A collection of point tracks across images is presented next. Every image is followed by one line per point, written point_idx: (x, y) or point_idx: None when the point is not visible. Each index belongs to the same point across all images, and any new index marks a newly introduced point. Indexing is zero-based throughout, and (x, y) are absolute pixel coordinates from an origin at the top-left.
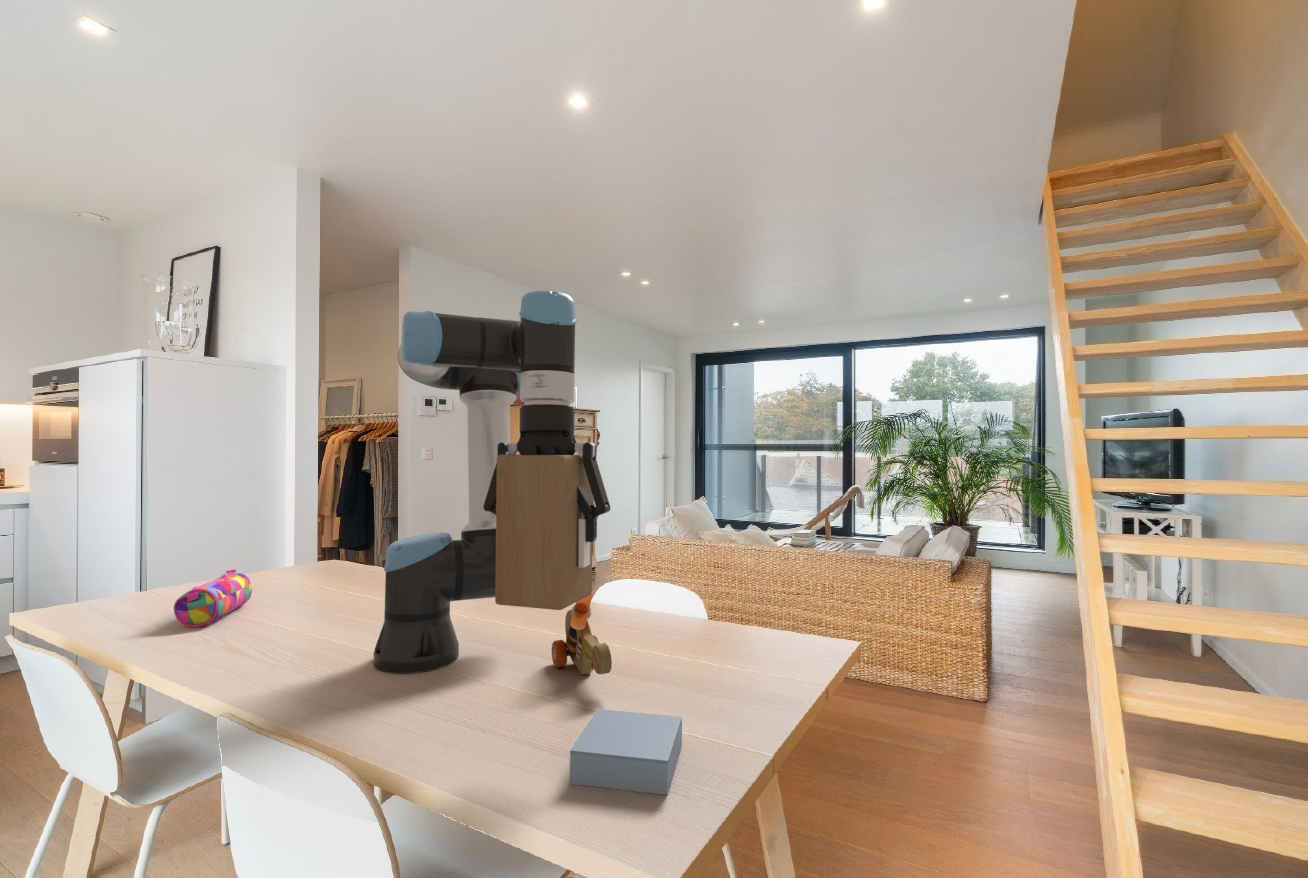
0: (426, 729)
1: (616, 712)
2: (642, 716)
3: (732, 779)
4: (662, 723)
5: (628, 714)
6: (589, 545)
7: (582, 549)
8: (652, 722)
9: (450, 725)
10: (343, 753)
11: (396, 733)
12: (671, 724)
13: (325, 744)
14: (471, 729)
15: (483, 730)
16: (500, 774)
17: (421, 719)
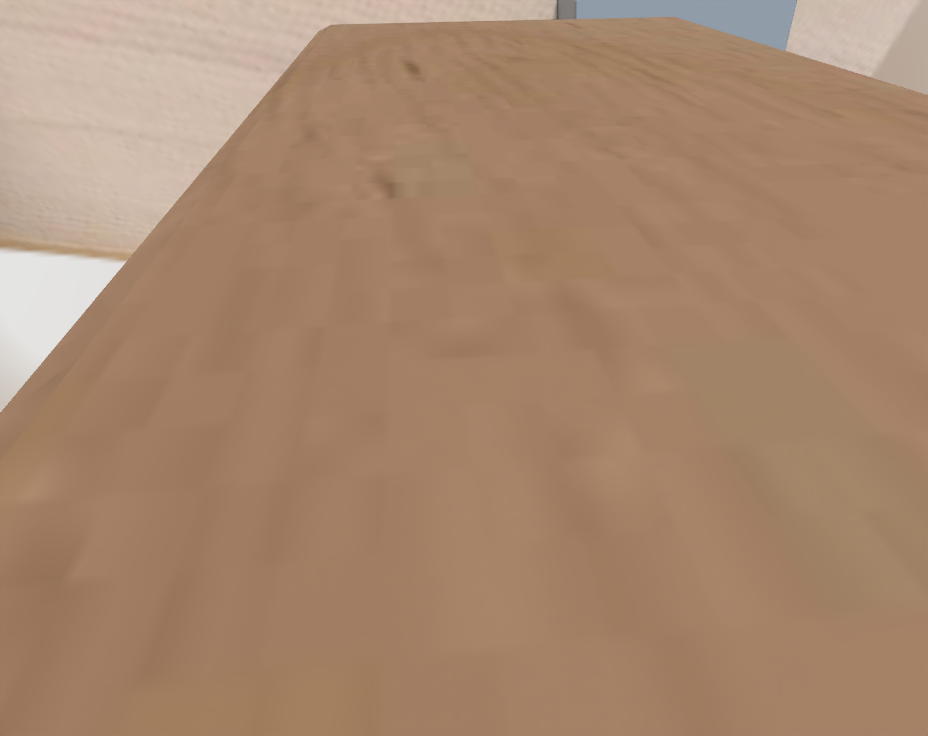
0: (162, 115)
1: (631, 5)
2: (700, 2)
3: (848, 69)
4: (751, 26)
5: (664, 5)
6: None
7: None
8: (726, 30)
9: (190, 73)
10: (128, 256)
11: (125, 157)
12: (773, 22)
13: (59, 245)
14: (254, 73)
15: (283, 66)
16: None
17: (95, 72)
